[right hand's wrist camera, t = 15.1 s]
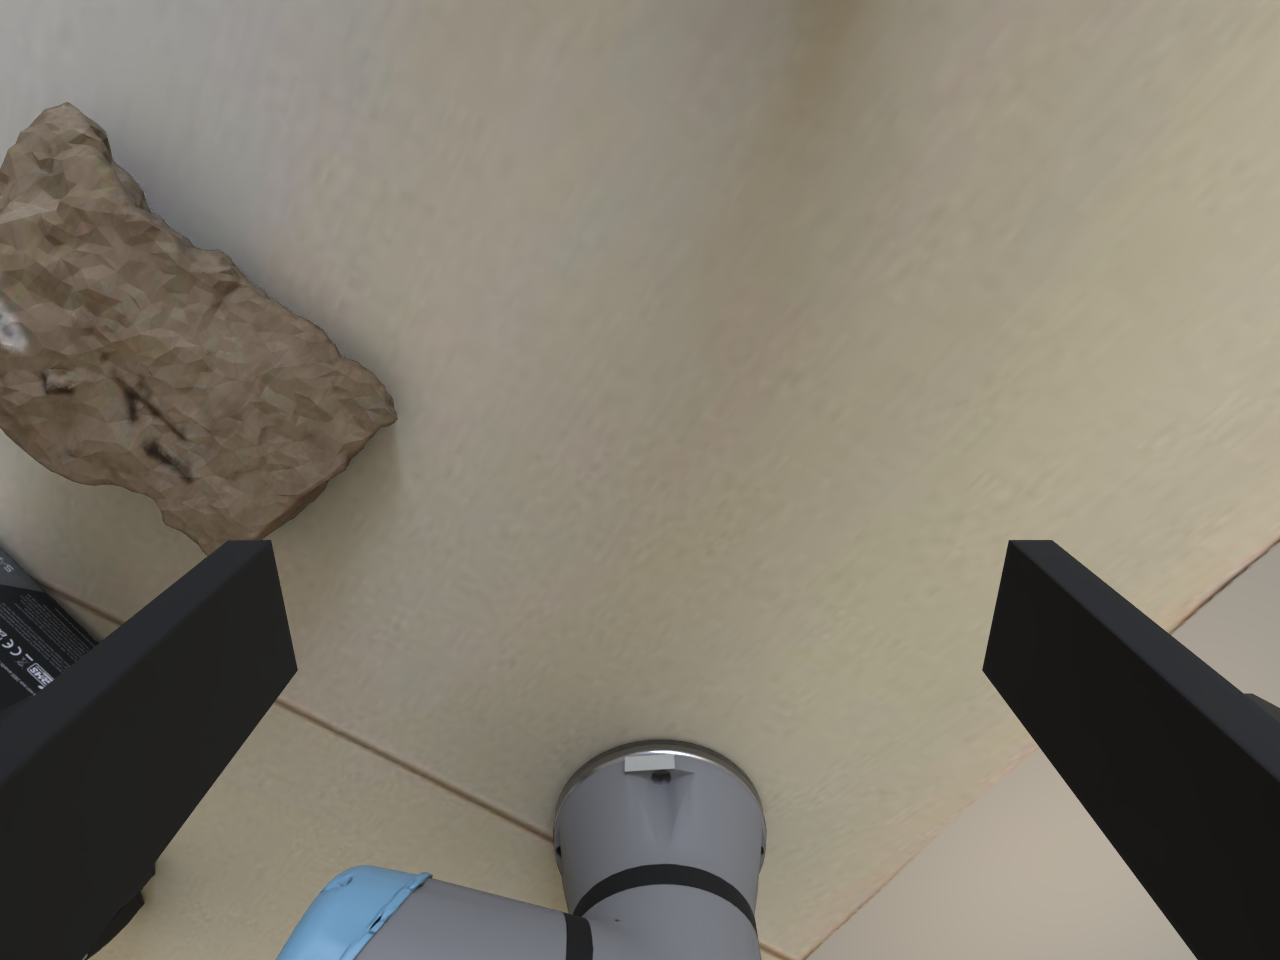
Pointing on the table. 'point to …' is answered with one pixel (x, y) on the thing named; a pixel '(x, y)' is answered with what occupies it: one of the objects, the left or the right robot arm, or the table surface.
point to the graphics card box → (33, 635)
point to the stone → (159, 352)
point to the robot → (122, 916)
